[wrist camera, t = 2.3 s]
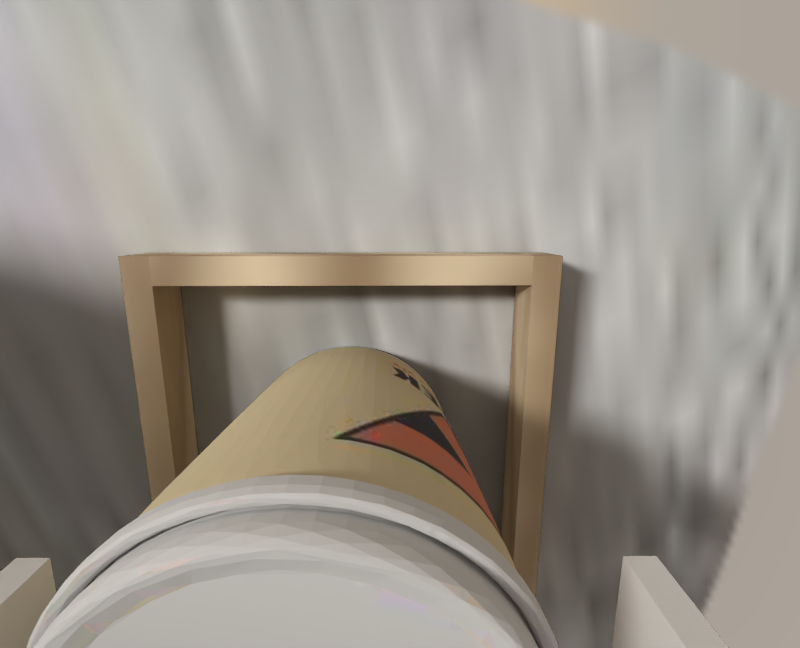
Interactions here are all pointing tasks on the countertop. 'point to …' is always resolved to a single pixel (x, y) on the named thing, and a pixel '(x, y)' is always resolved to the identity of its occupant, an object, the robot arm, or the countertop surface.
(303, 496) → the coffee cup
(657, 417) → the countertop surface
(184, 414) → the oak frame
